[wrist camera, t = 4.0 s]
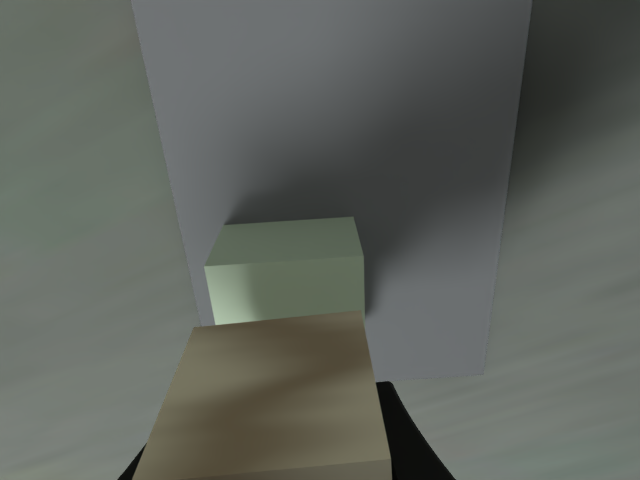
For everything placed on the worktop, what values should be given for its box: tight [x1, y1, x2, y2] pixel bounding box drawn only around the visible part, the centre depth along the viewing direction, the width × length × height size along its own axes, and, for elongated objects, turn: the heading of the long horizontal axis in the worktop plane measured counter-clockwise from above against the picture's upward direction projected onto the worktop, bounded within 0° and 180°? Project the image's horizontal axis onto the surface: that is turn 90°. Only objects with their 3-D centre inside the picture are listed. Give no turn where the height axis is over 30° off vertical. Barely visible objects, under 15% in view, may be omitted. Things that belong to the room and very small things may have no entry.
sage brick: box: [204, 217, 365, 328], centre depth 19 cm, size 6×6×4 cm
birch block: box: [132, 310, 392, 480], centre depth 11 cm, size 5×5×5 cm
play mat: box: [131, 0, 533, 382], centre depth 19 cm, size 15×24×1 cm, turn 3°
